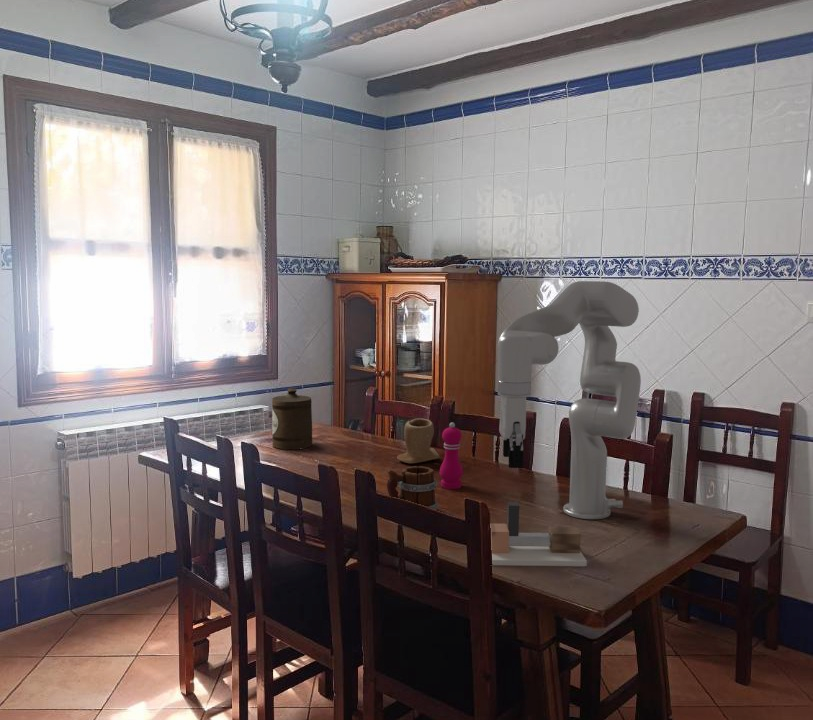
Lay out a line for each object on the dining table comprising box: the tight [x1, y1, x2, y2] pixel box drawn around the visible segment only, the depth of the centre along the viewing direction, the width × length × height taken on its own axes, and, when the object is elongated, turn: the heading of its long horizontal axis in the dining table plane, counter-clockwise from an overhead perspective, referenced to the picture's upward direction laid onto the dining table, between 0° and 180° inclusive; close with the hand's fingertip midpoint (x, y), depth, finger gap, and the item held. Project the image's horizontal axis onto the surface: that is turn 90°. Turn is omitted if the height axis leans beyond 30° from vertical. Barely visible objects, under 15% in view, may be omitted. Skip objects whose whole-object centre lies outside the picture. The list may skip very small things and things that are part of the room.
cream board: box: [492, 546, 588, 567], centre depth 174 cm, size 22×14×1 cm, turn 90°
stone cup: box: [396, 417, 440, 464], centre depth 257 cm, size 15×12×15 cm
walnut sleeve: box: [547, 526, 582, 553], centre depth 173 cm, size 6×5×5 cm
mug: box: [386, 465, 439, 511], centre depth 202 cm, size 12×14×15 cm
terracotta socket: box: [489, 522, 509, 553], centre depth 173 cm, size 4×6×5 cm
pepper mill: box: [439, 422, 464, 490], centre depth 227 cm, size 7×7×20 cm
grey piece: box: [506, 501, 552, 547], centre depth 173 cm, size 14×2×10 cm, turn 90°
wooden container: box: [271, 387, 313, 450], centre depth 279 cm, size 15×15×22 cm
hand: (512, 461), depth 171 cm, fingers open, 9 cm apart
